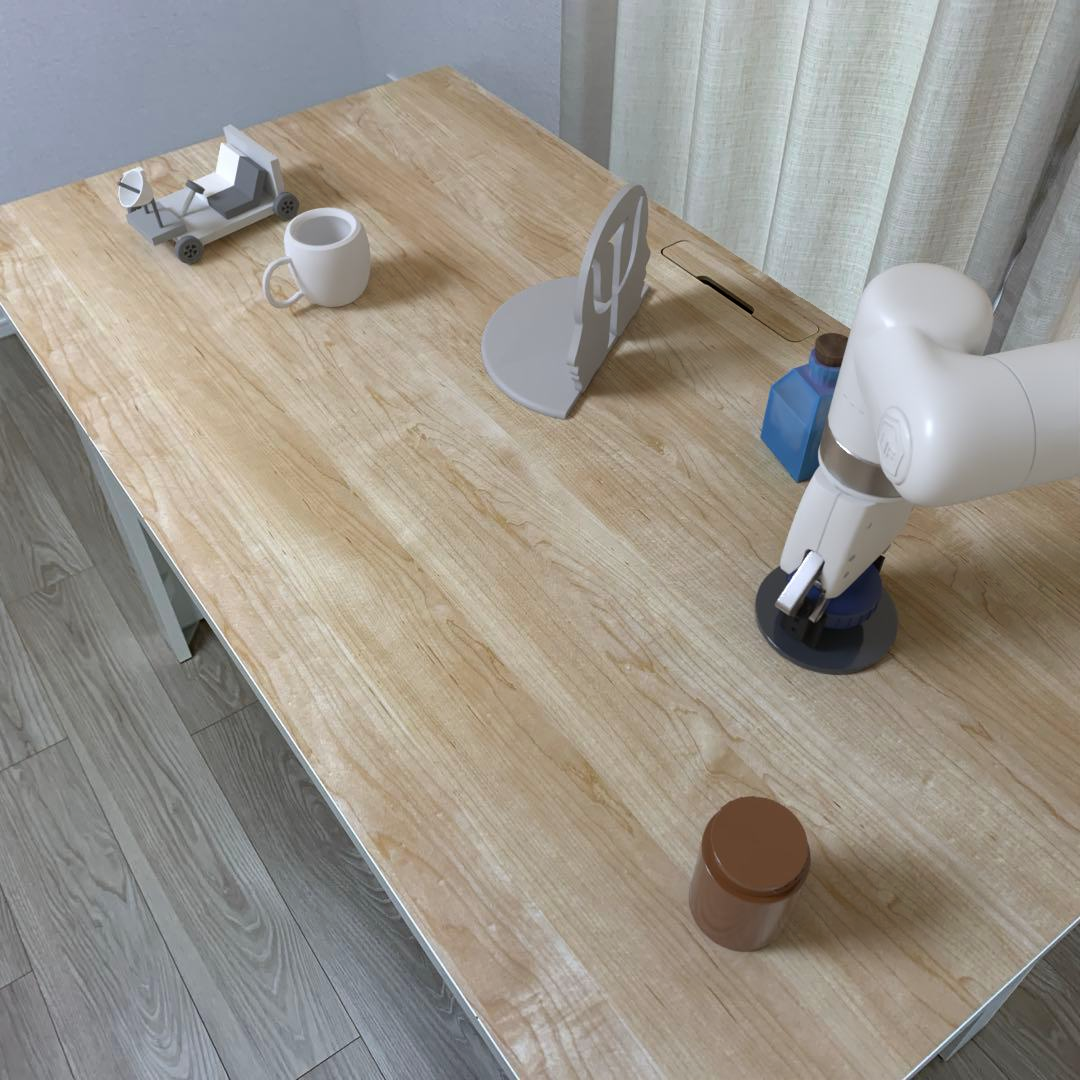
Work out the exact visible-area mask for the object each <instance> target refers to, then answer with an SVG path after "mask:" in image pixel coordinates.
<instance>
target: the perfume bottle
mask: <svg viewBox="0 0 1080 1080" xmlns="http://www.w3.org/2000/svg"><path fill="white" fill-rule="evenodd" d="M848 339H849V336H847V335H844V334H842V333H837V332H827V333H823V334H819V336H818V337H816V339H815V341H814V347H813V348H812V349H811V351H810V353H809V359H808V362H807V363H806V364H803V365H800V366H796V367H793V368H792V369H791V370H789V371H788V372H787V373H786V374H784V375H783V376H781V377H780V378H779V379H778V380H776V381H775V382H774V383H773V384H771V385H770V388H769V391H768V398H767V401H766V407H765V411H764V416H763V422H762V426H761V431H760V436H759V438H760V439H761V441H762V442H763V443H764V444H765V445H766V447H767V448H768V449H769V451H770V452H771V453H772V454H773V455H774V457H775V458H776V459H777V461H778V462H779V463H780V464H781V465H782V467H783V468H784V469H785V470H786V472H787V473H788V474H789V476H791V478H792V479H793V480H794V481H795V483H796V484H799V483H801V482H803V481H806V480H810V479H811V478H812V477H813V475H814V473H815V471H816V470H817V469H818V467H819V466H820V464H819V460H818V450H819V446H820V442H821V438H822V435H823V431H824V427H825V424H826V420H827V416H828V413H829V410H830V406H831V402H832V399H833V395H834V391H835V387H836V383H837V380H838V376H839V372H840V368H841V365H842V361H843V357H844V353H845V350H846V346H847V342H848Z"/></svg>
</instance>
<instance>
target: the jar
mask: <svg viewBox="0 0 1080 1080" xmlns="http://www.w3.org/2000/svg"><path fill="white" fill-rule="evenodd" d="M807 836H808V835H807V833H806V831H805V828H804V826H803V825H802V823H801V821H800V820H799V819H798V818H797V816H796V815H795V814H794V812H792V811H791V810H790V809H789V808H787V807H786V806H784V805H783V804H781V803H779V802H777V801H775V800H773V799H770V798H768V797H764V796H763V797H762V796H755V795H749V796H740V797H737V798H735V799H732V800H729V801H728V802H727V803H725V804H724V805H723V806H722V807H720V809H719V810H718V811H717V812H716V813H715V814H713V816H712V817H711V818H710V819H709V821H707V824H706V825H705V828H704V830H703V834H702V837H701V842H700V845H699V849H698V854H697V857H696V861H695V864H694V865H695V866H694V869H693V872H692V873H693V874H692V877H691V882H690V886H689V892H688V901H689V902H688V903H689V908H690V912H691V915H692V918H693V920H694V922H695V924H696V925H697V927H698V928H699V930H700V931H701V932H702V934H704V936H705V937H707V938H708V939H709V940H710V941H712V942H713V943H715V944H716V945H718V946H720V947H722V948H724V949H727V950H731V951H735V952H742V953H743V952H754V951H757V950H761V949H763V948H766V947H767V946H769V945H771V944H772V943H774V942H775V941H776V940H777V939H778V938H779V936H780V935H781V934H782V933H783V931H784V929H785V927H786V925H787V922H788V920H789V919H790V916H791V914H792V912H793V910H794V907H795V906H796V903H797V901H798V899H799V897H800V894H801V892H802V890H803V888H804V886H805V883H806V881H807V880H808V876H809V874H810V869H811V865H812V864H811V863H812V862H811V861H812V856H811V855H812V854H811V849H810V844H809V841H808V837H807Z"/></svg>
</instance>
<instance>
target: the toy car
mask: <svg viewBox="0 0 1080 1080" xmlns="http://www.w3.org/2000/svg"><path fill="white" fill-rule="evenodd" d="M222 130H223V134H224V137H225V140H226V142H220V146H219V151H218V156H217V161H216V168H215V171H214V172H211V173H208V174H206V175H204V176H202V177H199V178H197V179H194V180H190V179H187V180H186V183H185V187H184V188H182V189H179V190H177V191H175V192H173V193H169V194H168V195H165V196H163V197H160V198H157V199H155V197H154V191H153V187H152V185H151V184H150V183H149V181H148V180H147V179H148V178H147V174H146V172H145V171H146V170H145V169H144V168H142V167H141V166H136V167H134V168H131V169H130V170H126V171H124V172H122V176H123V177H121V178H119V181H117V183H116V184H117V186H119V187H118V191H117V194H118V195H117V197H118V202H119V204H120V205H121V206H122V207H123V208H126V210H127V214H125V218H126V221H127V224H128V225H130V226H131V227H132V228H133V229H134V230H135V231H137V232H138V233H139V234H140V235H141V236H142V237H143V238H144V239H146V240H147V241H148V242H149V243H150V244H151V245H152V246H154V247H156V246H159V245H161V244H163V243H165V242H168V241H170V240H172V241H174V242H175V246H174V254H175V257H176V258H177V259H178V260H179V261H180V262H181V263H182V264H185V265H192V264H195V263H197V262H198V261H199V260H200V259H202V256H203V254H204V246H205V245H208V244H210V243H213V242H214V241H216V240H219V239H221V238H223V237H226V236H228V235H230V234H233V233H234V232H236V231H239V230H241V229H244V228H245V227H248V226H250V225H252V224H254V223H256V222H258V221H261V220H263V219H265V218H268V217H269V216H272V215H274V214H275V215H276V216H277V217H278V218H280V220H284V221H287V220H292V219H294V218H295V217H296V215H297V213H298V212H299V209H300V201H299V198H298V197H297V196H296V195H295V194H293V193H292V192H290V191H286V187H285V183H284V182H285V181H284V177H283V174H282V170H281V164H280V160H279V158H278V156H276V155H274V153H271V152H270V151H269V150H267V149H266V148H265V147H263V146H262V145H261V144H259V143H257V142H256V141H255V140H253V139H252V138H251V137H249V136H248V135H246V134H245V133H243V132H242V131H241V130H239V129H238V128H237V127H235V126H234V125H232V124H228V125H225V126H224V127H222Z"/></svg>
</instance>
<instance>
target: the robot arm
mask: <svg viewBox="0 0 1080 1080" xmlns="http://www.w3.org/2000/svg"><path fill="white" fill-rule="evenodd" d="M993 307H994V306H993V304H992V302H991V300H990V297H989V294H987V291H985V289H984V288H983V287H982V286H981V285H980V284H979V283H978V282H976V280H974V279H972V278H971V277H970V276H969V275H967V274H965V273H963V272H962V271H959V270H957V269H955V268H952V267H948V266H946V265H941V264H938V263H930V262H910V263H905V264H904V263H903V264H898V265H895V266H892V267H889V268H887V269H885V270H883V271H881V272H880V273H879V274H877V275H876V276H874V277H873V278H872V279H871V280H870V281H869V282H868V284H867V285H866V287H865V288H864V289H863V291H862V293H861V295H860V298H859V300H858V303H857V306H856V310H855V312H854V317H853V320H852V324H851V327H850V331H849V335H848V338H849V339H848V342H847V346H846V350H845V353H844V357H843V361H842V365H841V368H840V372H839V376H838V380H837V383H836V387H835V391H834V395H833V399H832V402H831V406H830V410H829V413H828V416H827V420H826V424H825V427H824V431H823V435H822V438H821V442H820V446H819V450H818V460H819V464H820V466H819V467H818V469H817V470H816V471H815V473H814V475H813V477H812V478H810V479H809V483H808V485H807V486H806V489H805V491H804V493H803V495H802V497H801V499H800V502H799V505H798V506H797V509H796V512H795V514H794V517H793V519H792V523H791V526H790V528H789V531H788V534H787V537H786V540H785V543H784V547H783V549H782V553H781V555H780V560H779V566H780V567H781V569H782V570H784V571H785V572H786V573H788V574H791V573H792V572H793V571H794V570H796V569H797V568H798V567H799V568H798V570H797V571H796V573H795V574H794V576H793V577H792V579H791V580H790V582H789V583H788V585H787V586H786V588H785V589H784V591H783V592H782V594H781V595H780V596H779V598H778V599H777V601H776V603H775V606H776V607H777V608H779V609H780V610H781V611H783V614H782V618H781V621H780V627H781V628H782V629H783V630H785V631H786V633H787V634H788V635H789V636H790V637H792V638H793V639H794V640H796V641H800V642H802V643H803V644H805V645H806V646H807V647H809V648H811V649H814V648H815V647H816V646H817V645H818V643H819V640H820V637H821V634H822V631H823V628H824V625H825V622H826V619H827V617H828V616H827V615H826V613H824V611H825V609H826V608H827V606H828V604H829V602H830V600H831V599H832V598H835V597H837V596H839V595H840V594H841V593H842V592H844V591H845V590H846V589H847V588H848V587H849V586H850V585H851V584H852V583H853V582H854V581H855V580H856V579H857V578H858V577H859V576H860V575H861V574H862V573H863V572H864V571H865V570H866V569H867V568H868V567H869V566H870V565H871V564H872V563H873V564H874V566H875V567H876V568H877V570H878V572H879V574H880V573H881V570H882V567H883V565H884V563H885V559H886V556H885V554H886V553H887V552H888V550H889V549H890V548H891V546H892V544H893V542H895V540H896V539H897V538H898V537H899V535H900V534H901V533H902V532H903V530H904V529H905V527H906V525H907V523H908V521H909V519H910V517H911V515H912V513H913V510H914V508H915V506H918V507H920V508H921V507H922V508H943V507H950V506H953V505H954V506H956V505H960V504H965V503H968V502H972V501H973V502H974V501H977V500H982V499H985V498H990V497H994V496H1000V495H1004V494H1007V493H1011V492H1015V491H1020V490H1024V489H1028V488H1029V489H1030V488H1032V487H1038V486H1042V485H1046V484H1051V483H1056V482H1060V481H1065V480H1069V479H1075V478H1080V336H1078V337H1074V338H1073V337H1072V338H1068V339H1064V340H1058V341H1053V342H1048V343H1041V344H1035V345H1031V346H1030V345H1029V346H1026V347H1020V348H1016V349H1011V350H1006V351H1001V352H996V353H990V354H986V355H984V353H985V350H986V348H987V345H988V343H989V341H990V338H991V334H992V331H993V326H994V319H995V317H994V308H993ZM820 574H821V575H820ZM812 586H813V587H815V588H816V589H818V590H819V591H821V592H822V593H821V595H820V597H819V599H818V601H817V603H816V602H814V601H813V600H811V599H810V598H808V597H807V596H806V595H807V593H808V592H809V590H810V589H811V587H812Z"/></svg>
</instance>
